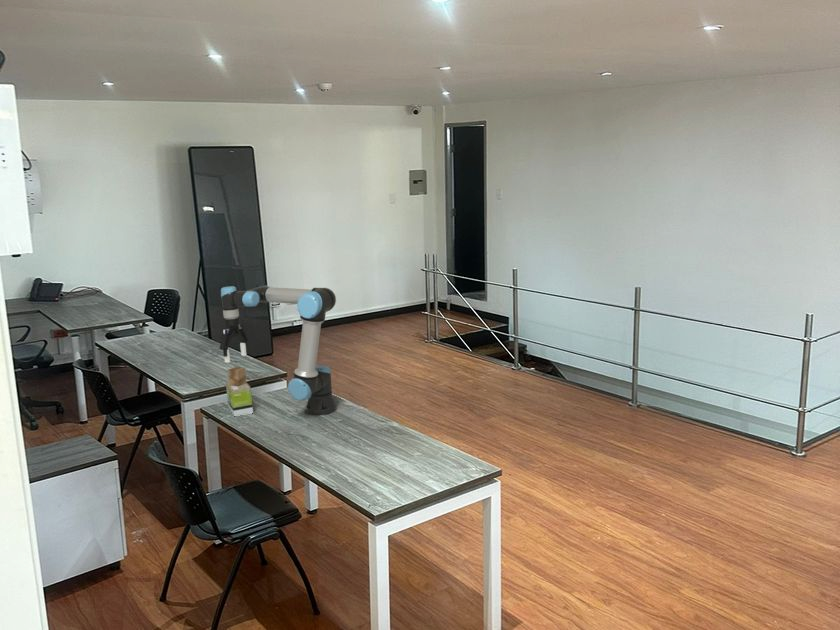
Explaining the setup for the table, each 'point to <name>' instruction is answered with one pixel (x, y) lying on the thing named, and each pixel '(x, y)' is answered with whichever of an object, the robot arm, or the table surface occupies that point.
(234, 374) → the walnut block
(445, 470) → the table surface
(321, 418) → the table surface
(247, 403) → the tea box
